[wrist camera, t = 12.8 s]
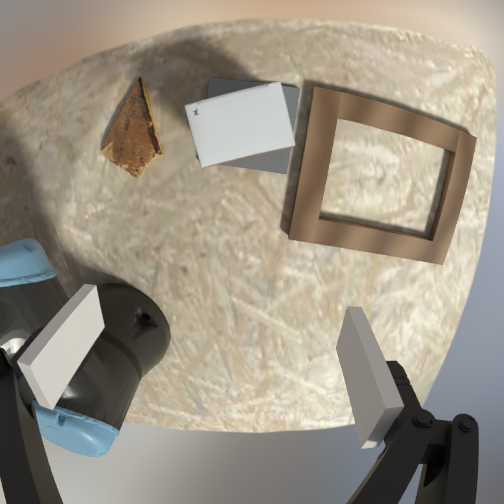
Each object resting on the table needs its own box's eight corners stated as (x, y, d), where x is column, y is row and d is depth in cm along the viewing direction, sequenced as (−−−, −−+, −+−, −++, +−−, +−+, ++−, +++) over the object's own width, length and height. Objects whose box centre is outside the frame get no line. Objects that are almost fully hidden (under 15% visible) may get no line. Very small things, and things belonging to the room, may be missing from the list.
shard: (144, 77, 31) (139, 75, 30) (194, 106, 33) (191, 105, 31) (104, 151, 35) (97, 153, 34) (149, 181, 37) (144, 184, 35)
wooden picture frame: (288, 235, 38) (288, 239, 37) (313, 87, 31) (314, 86, 29) (438, 261, 38) (442, 265, 37) (471, 136, 30) (476, 137, 29)
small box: (219, 156, 34) (198, 170, 24) (207, 109, 32) (181, 105, 22) (289, 140, 33) (297, 147, 23) (278, 92, 31) (280, 79, 21)
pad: (200, 161, 35) (199, 162, 34) (210, 78, 31) (209, 77, 30) (286, 173, 35) (286, 174, 34) (299, 89, 31) (299, 88, 30)
